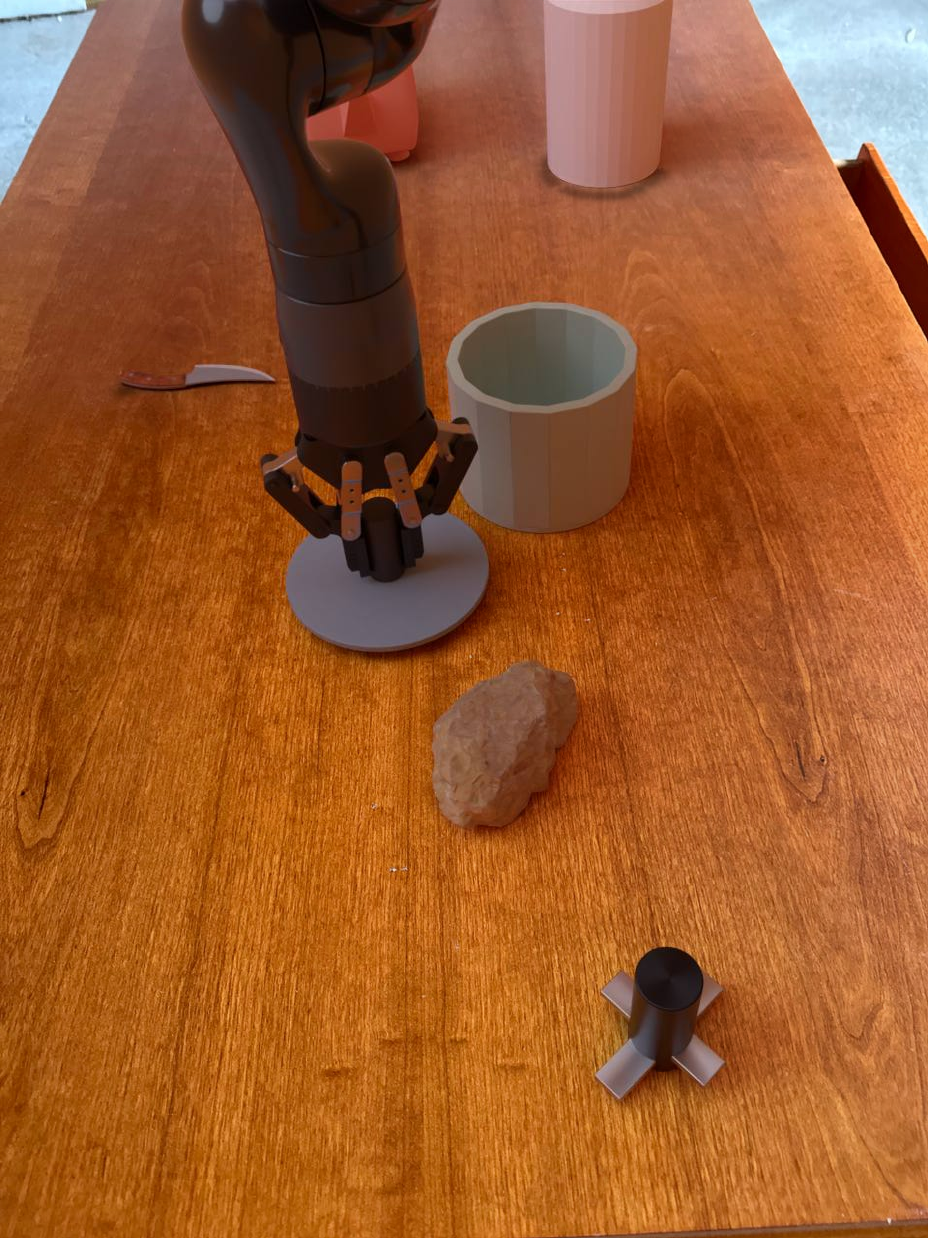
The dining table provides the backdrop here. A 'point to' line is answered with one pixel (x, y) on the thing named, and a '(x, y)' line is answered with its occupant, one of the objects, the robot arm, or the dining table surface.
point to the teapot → (375, 118)
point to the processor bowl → (545, 414)
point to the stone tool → (501, 743)
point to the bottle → (605, 88)
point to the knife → (192, 377)
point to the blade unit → (661, 1021)
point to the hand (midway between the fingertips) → (386, 563)
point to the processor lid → (389, 583)
